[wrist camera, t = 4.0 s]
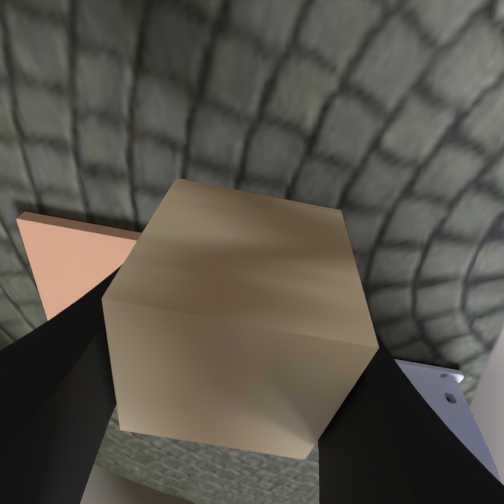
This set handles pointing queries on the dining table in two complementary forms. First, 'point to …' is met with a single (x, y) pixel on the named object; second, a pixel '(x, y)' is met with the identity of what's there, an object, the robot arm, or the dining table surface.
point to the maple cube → (237, 321)
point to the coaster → (71, 256)
